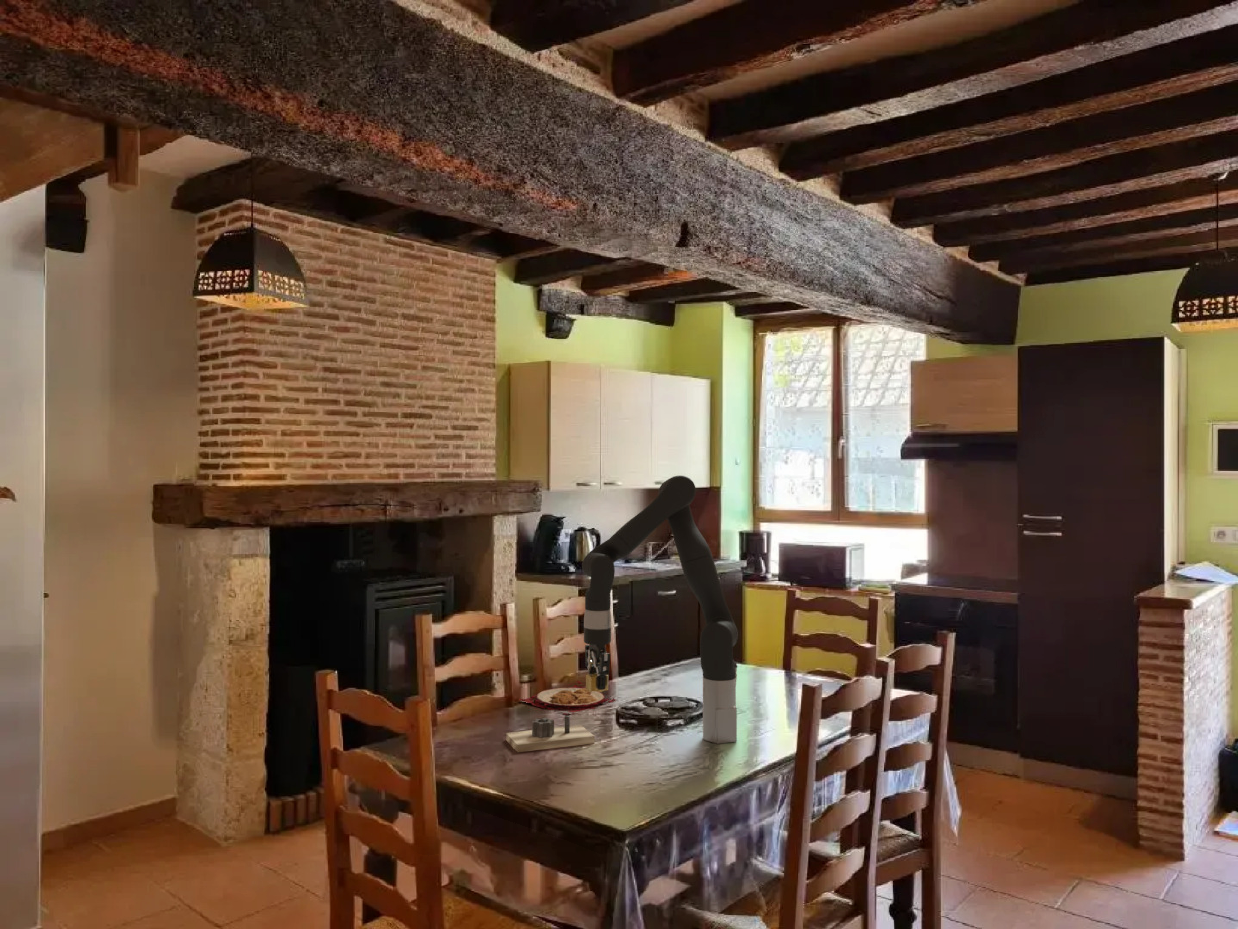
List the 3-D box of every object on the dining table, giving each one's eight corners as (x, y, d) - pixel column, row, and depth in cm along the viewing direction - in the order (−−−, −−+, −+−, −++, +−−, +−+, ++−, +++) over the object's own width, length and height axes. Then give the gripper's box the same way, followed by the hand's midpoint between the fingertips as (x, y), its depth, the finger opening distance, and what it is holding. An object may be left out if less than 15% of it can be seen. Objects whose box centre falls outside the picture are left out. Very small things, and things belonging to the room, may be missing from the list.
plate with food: (518, 704, 304) (518, 694, 304) (576, 688, 322) (575, 679, 322) (567, 719, 287) (567, 708, 287) (625, 702, 305) (625, 691, 305)
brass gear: (610, 691, 256) (610, 676, 256) (591, 693, 254) (591, 678, 254) (602, 686, 261) (603, 671, 261) (583, 687, 259) (583, 673, 259)
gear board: (594, 743, 259) (594, 719, 259) (517, 752, 251) (517, 728, 251) (580, 731, 270) (580, 709, 270) (506, 740, 262) (506, 717, 262)
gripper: (619, 629, 252) (619, 691, 252) (601, 620, 266) (600, 679, 266) (593, 631, 249) (593, 694, 249) (576, 622, 263) (575, 681, 263)
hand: (596, 686), depth 258 cm, fingers closed on brass gear, 6 cm apart
